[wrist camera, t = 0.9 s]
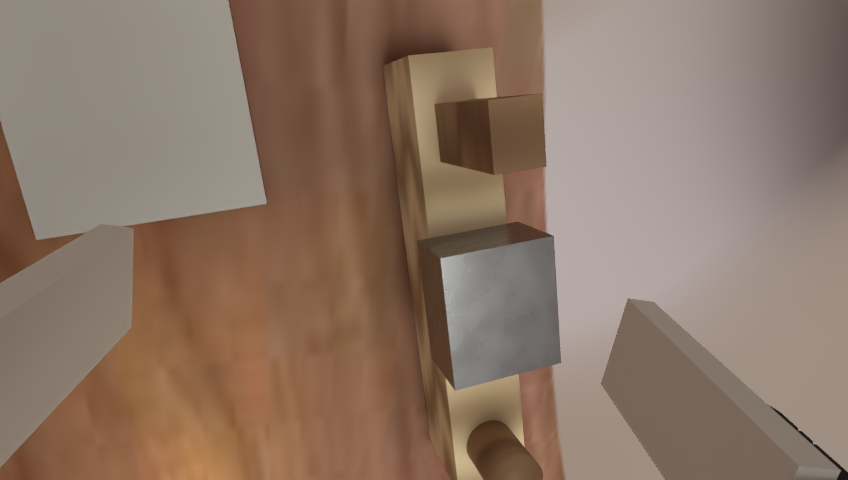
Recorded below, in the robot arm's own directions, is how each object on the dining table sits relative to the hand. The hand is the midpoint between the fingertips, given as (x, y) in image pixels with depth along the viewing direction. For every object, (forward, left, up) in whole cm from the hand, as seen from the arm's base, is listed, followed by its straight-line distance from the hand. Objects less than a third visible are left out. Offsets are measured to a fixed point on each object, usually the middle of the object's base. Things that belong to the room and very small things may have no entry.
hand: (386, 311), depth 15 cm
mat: (-3, +11, -20) cm, 23 cm away
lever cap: (+3, -9, -14) cm, 17 cm away
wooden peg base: (+3, -9, -20) cm, 22 cm away
